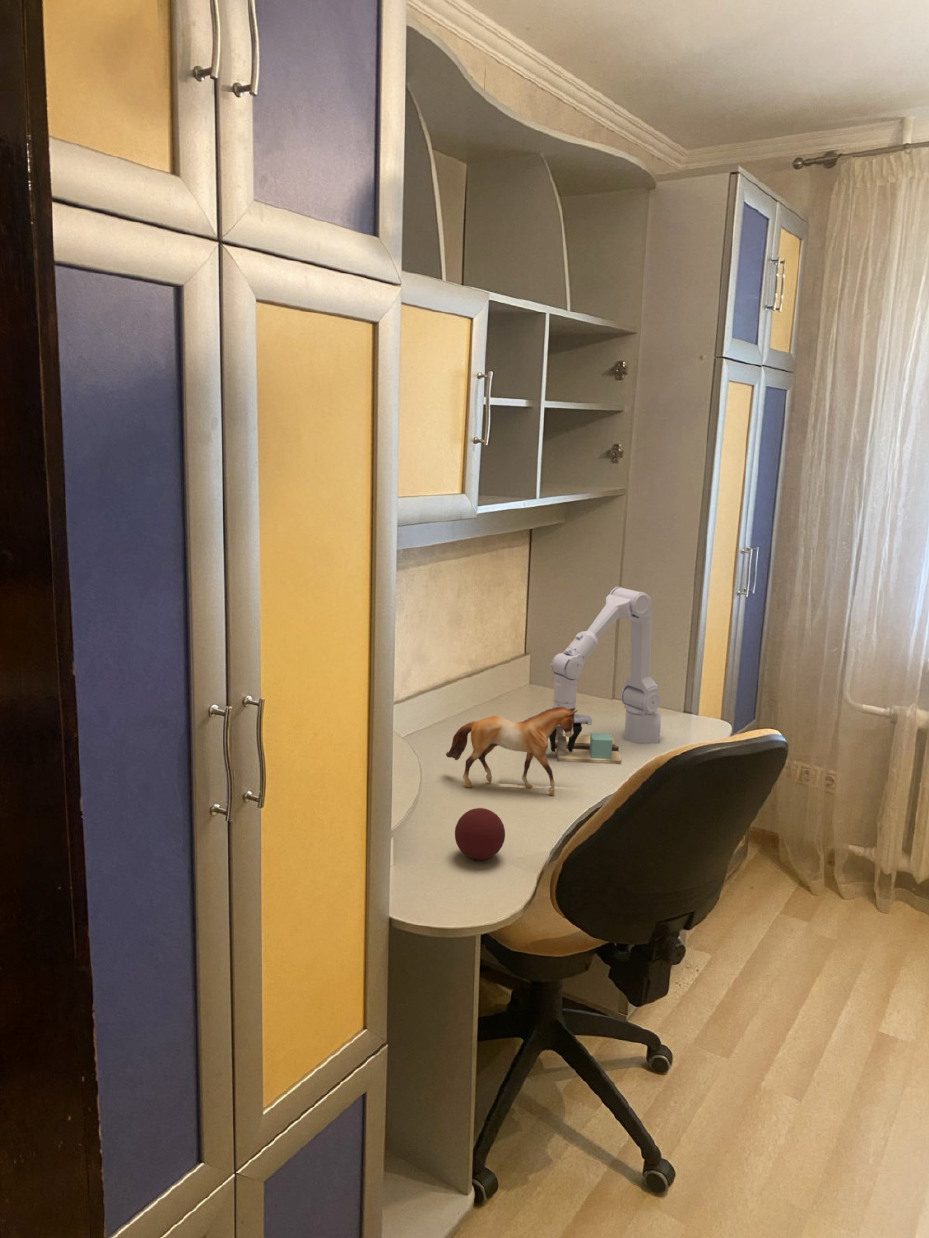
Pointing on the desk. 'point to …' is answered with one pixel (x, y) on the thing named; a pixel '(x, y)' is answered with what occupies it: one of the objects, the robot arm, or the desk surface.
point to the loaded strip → (581, 754)
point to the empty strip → (580, 739)
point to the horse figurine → (512, 739)
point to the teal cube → (600, 746)
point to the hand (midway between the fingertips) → (561, 750)
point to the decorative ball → (479, 833)
